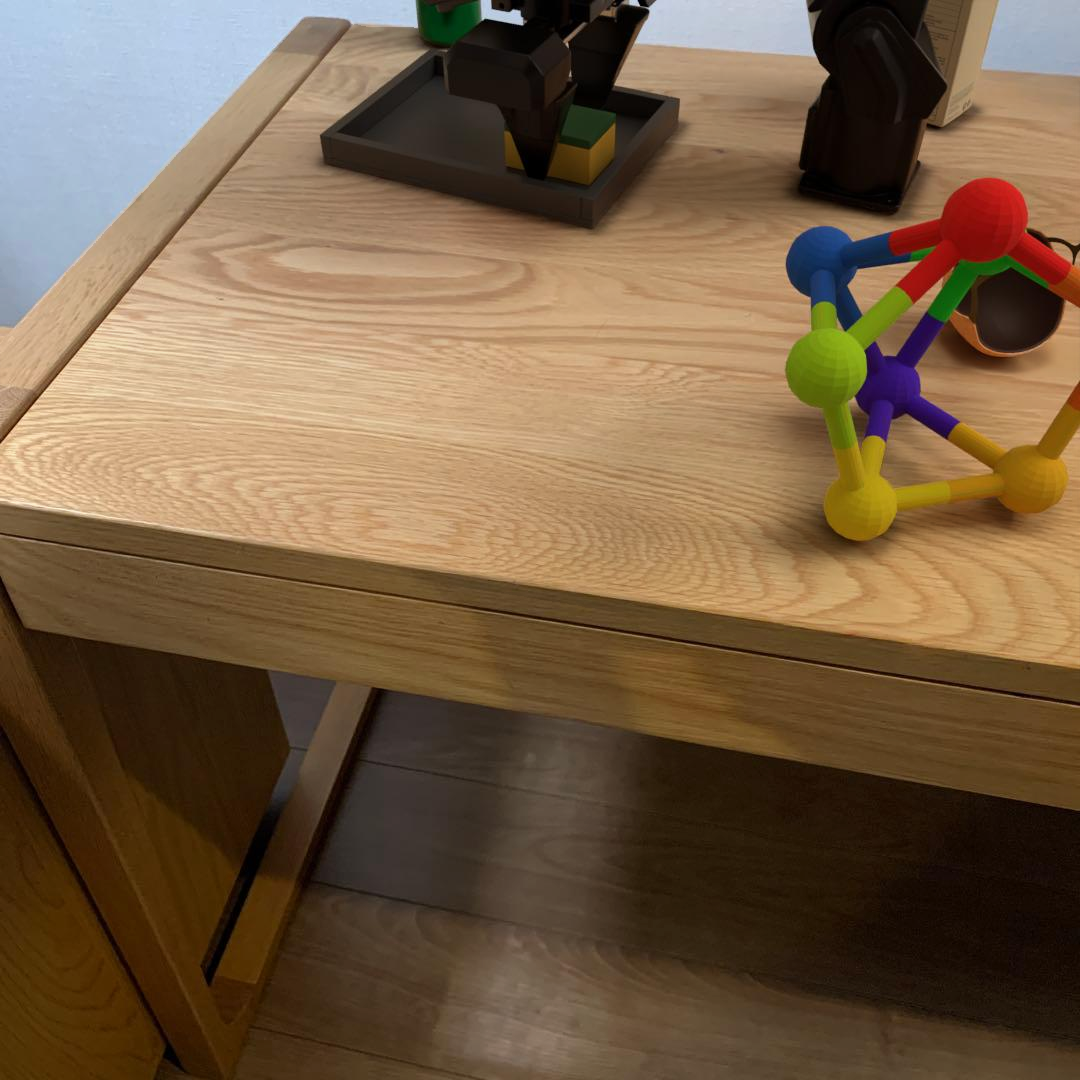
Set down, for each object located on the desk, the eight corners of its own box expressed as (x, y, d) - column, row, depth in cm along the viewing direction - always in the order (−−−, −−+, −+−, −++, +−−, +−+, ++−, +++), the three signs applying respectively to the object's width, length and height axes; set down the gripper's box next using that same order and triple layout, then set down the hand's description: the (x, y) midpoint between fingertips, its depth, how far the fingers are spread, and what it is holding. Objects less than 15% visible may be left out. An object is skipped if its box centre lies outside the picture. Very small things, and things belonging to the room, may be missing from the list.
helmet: (1129, 307, 50) (1059, 347, 58) (1078, 173, 50) (1015, 231, 58) (1008, 348, 50) (955, 382, 58) (959, 215, 50) (912, 267, 58)
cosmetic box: (972, 109, 75) (1027, -83, 66) (941, 131, 73) (994, -65, 64) (891, 82, 78) (934, -105, 69) (859, 103, 76) (899, -88, 67)
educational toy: (931, 351, 57) (1045, 73, 46) (1091, 521, 49) (1275, 236, 38) (669, 408, 53) (722, 118, 42) (797, 604, 45) (906, 311, 34)
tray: (678, 126, 74) (680, 97, 73) (592, 229, 65) (593, 199, 64) (432, 75, 80) (430, 48, 79) (324, 163, 71) (319, 134, 70)
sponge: (532, 139, 72) (531, 95, 70) (614, 157, 70) (616, 113, 68) (505, 166, 70) (503, 121, 67) (589, 185, 68) (590, 140, 66)
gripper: (508, -179, 66) (516, 73, 77) (342, -84, 55) (380, 194, 66) (677, -159, 63) (659, 102, 74) (537, -53, 51) (542, 235, 63)
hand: (561, 153), depth 69 cm, fingers open, 7 cm apart
